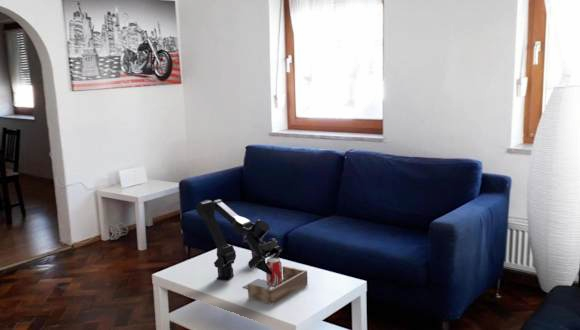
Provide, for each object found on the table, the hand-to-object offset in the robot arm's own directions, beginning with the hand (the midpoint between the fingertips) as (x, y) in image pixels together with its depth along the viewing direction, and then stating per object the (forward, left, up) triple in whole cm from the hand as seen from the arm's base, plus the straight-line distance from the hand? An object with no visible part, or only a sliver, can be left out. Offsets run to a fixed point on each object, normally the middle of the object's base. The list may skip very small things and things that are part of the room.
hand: (276, 271), depth 242 cm
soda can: (-1, 0, -7) cm, 7 cm away
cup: (-24, +32, -9) cm, 41 cm away
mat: (-10, +3, -9) cm, 13 cm away
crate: (+1, 0, -9) cm, 9 cm away
